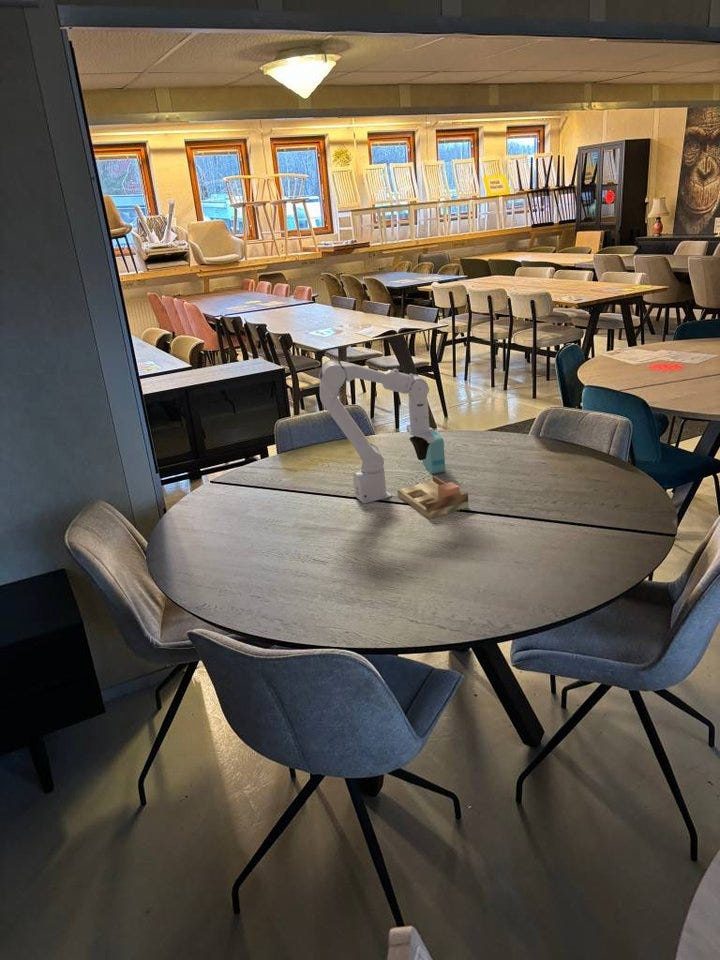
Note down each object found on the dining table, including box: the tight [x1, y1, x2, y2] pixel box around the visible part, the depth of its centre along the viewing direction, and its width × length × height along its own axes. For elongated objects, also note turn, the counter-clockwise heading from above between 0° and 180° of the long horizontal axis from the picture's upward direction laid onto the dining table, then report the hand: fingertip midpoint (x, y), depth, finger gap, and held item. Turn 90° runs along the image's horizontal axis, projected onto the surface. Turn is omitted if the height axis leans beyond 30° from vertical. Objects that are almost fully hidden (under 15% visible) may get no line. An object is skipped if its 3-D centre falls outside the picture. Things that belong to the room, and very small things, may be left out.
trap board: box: [397, 475, 469, 519], centre depth 199 cm, size 13×20×4 cm, turn 22°
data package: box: [422, 429, 446, 475], centre depth 223 cm, size 12×4×12 cm, turn 11°
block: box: [438, 481, 461, 499], centre depth 194 cm, size 4×4×4 cm
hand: (421, 459), depth 206 cm, fingers closed
